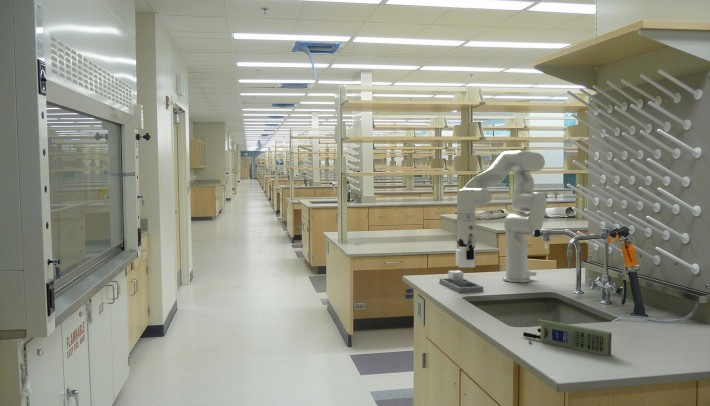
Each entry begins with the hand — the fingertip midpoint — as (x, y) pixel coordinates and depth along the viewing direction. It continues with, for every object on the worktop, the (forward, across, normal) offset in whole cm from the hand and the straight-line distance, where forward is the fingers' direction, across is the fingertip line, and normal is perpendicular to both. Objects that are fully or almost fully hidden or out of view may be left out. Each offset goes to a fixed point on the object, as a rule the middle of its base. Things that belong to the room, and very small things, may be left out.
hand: (465, 257), depth 225 cm
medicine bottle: (+4, 0, 0) cm, 4 cm away
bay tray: (+14, +5, 0) cm, 15 cm away
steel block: (+14, +10, 0) cm, 17 cm away
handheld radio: (+15, -74, +4) cm, 76 cm away
